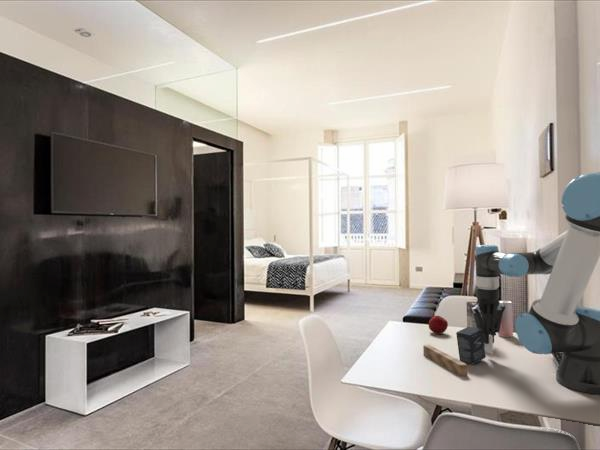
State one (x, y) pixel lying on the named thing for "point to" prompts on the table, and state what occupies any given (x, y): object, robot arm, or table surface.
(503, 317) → the beverage can
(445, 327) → the apple
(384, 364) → the table surface
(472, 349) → the box
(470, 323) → the coffee box
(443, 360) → the board
